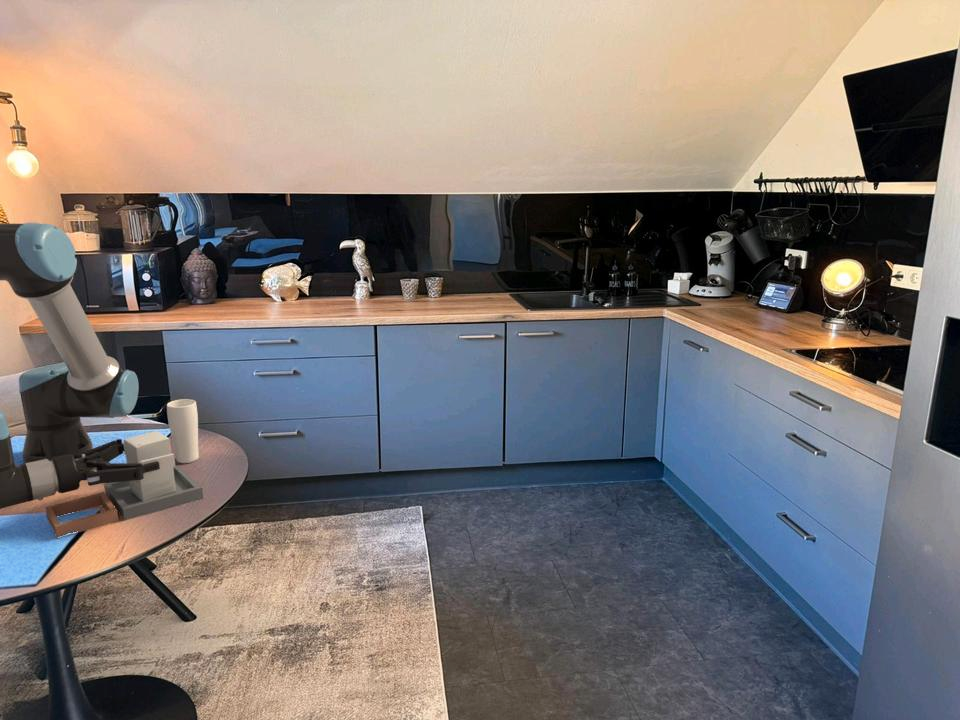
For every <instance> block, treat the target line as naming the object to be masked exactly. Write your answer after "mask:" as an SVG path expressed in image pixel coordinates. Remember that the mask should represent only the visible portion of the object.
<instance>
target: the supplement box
mask: <svg viewBox="0 0 960 720" xmlns="http://www.w3.org/2000/svg"><path fill="white" fill-rule="evenodd" d="M123 442H124V446H125V453H126V455H125V458H126V459H125V460H126V463H141V462H140V461H143V460H147V459H151V458H156V457H160V456H164V455H168V454H172V448H171V439H170V437H167V436H166V435H164V434H162V433H161V432H159V431H158V430H156V431H150V432H146V433H143V434H139V435H135V436H131V437H127V438H124V439H123ZM143 476H144V479H142V480H134V481H130V489H131V492H132V493H133V494H134V495H136V496H137V497H138V498H139V499H141V500H142V501H146V500H150V499H153V498H157V497H160V496H163V495H166V494H170V493H173V492H175V491H176V487H175V479H174V471H173V467H170V468H166V469H162V470H158V471H154V472H150V473H146V474H143Z"/></svg>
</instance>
